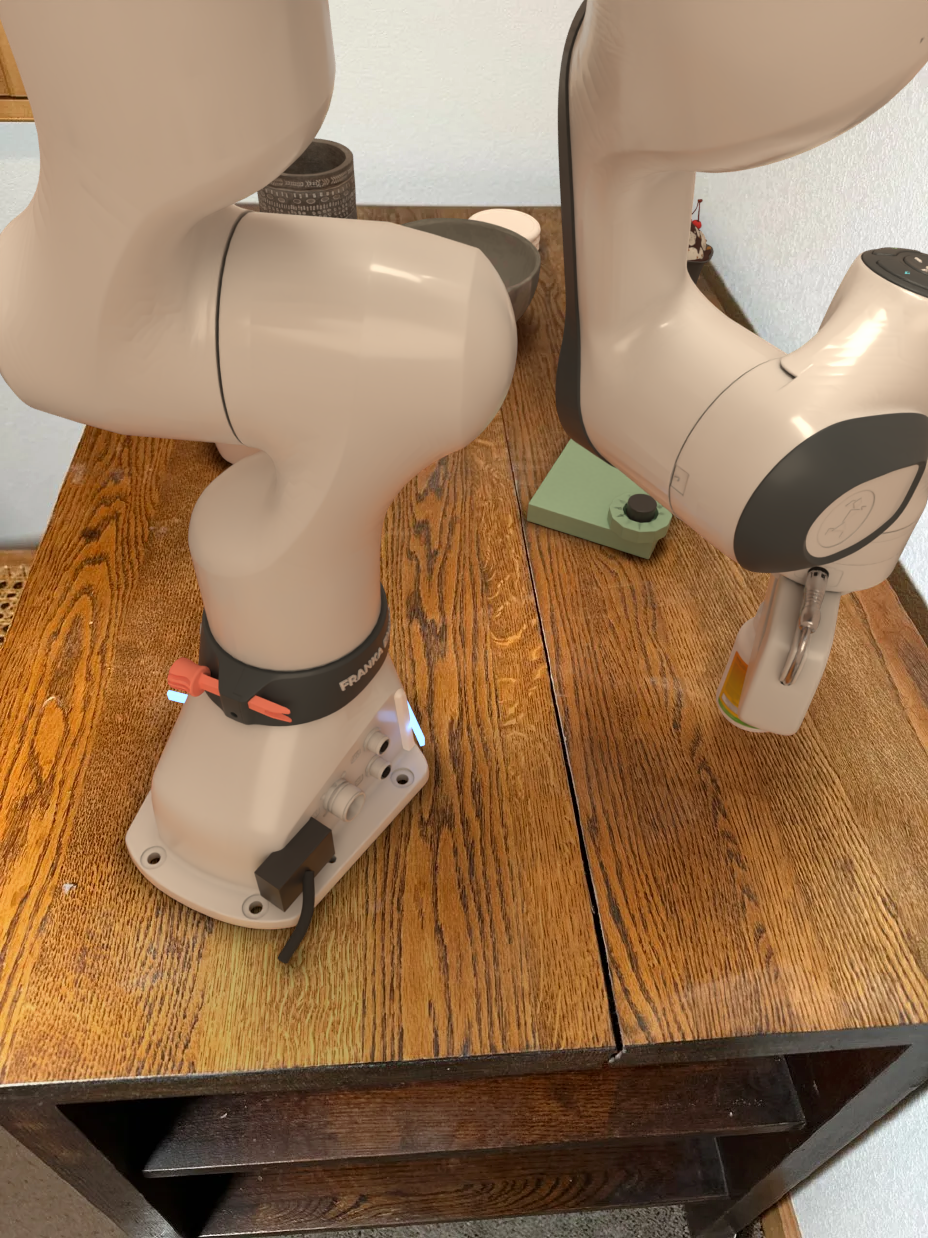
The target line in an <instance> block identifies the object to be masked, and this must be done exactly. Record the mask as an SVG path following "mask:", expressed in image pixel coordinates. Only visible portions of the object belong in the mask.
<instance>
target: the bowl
mask: <svg viewBox="0 0 928 1238" xmlns="http://www.w3.org/2000/svg"><path fill="white" fill-rule="evenodd" d="M400 225H402V226H405V227H409V228H413V229H416V230H420V231H423V232H427V233H431V234H434V235H437V236H441V237H444V238H447V239H450V240H453V241H457V242H460V243H463V244H466V245H469V246H472V247H476V248H478V249H480V250H481V251H482V252H483V254H484V255H485V256H486V257H487V258H488V259H489V261H490V262H491V263H492V265H493V266H494V268H495V269H496V271H497V272H498V274H499V276H500V278H501V279H502V281H503V283H504V285H505V287H506V290H507V292H508V295H509V297H510V300H511V304H512V307H513V311H514V315H515V321H516V323H517V322H518V321H519V320H520V319H521V318H522V316H523V315H524V313H525V312H526V311H527V310H528V308H529V306H530V304H531V303H532V300H533V298H534V296H535V292H536V290H537V287H538V284H539V281H540V273H541V263H542V262H541V261H542V258H541V254H540V252H539V250H537V248H536V247H535V246H534V245H533V244H532V243H531V242H530V241H529V240H528V239H526V238H525V237H523V236H521V235H520V234H518V233H516V232H514V231H512V230H509V229H507V228H504V227H501V226H498V225H495V224H491V223H487V222H482V221H477V220H470V219H469V218H459V217H434V218H433V217H432V218H431V217H430V218H424V219H417V220H412V221H409V222H405V223H402V224H400Z"/></svg>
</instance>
